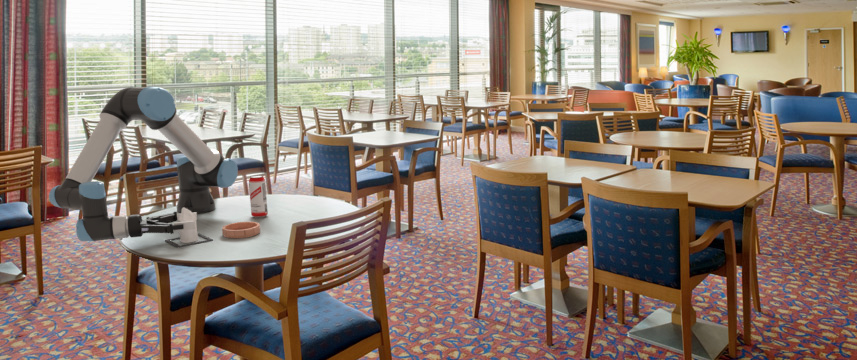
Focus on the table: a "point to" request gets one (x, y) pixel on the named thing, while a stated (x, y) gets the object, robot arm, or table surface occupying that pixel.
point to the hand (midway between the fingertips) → (195, 220)
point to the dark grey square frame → (189, 243)
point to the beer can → (258, 196)
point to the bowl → (241, 230)
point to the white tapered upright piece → (188, 235)
